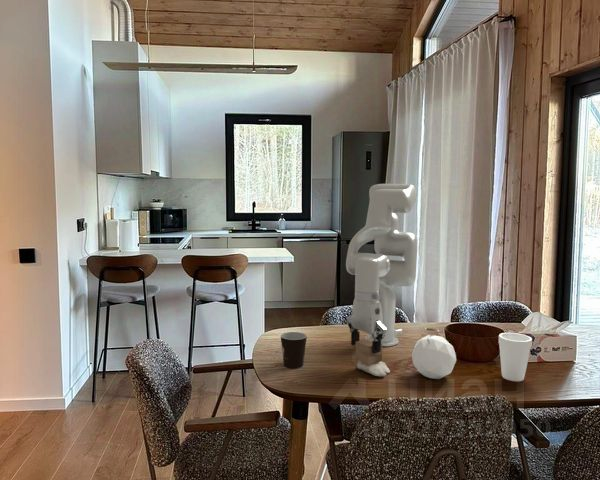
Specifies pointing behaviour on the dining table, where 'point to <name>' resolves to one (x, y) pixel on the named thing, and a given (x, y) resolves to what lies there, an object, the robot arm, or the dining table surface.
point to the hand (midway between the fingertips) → (365, 348)
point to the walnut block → (367, 352)
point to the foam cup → (514, 355)
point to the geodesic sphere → (434, 356)
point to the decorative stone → (374, 368)
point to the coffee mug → (293, 349)
